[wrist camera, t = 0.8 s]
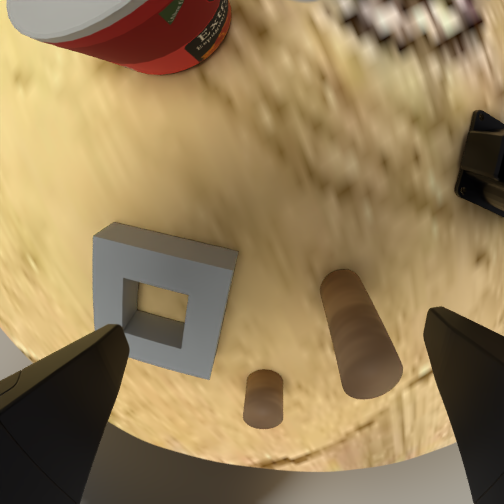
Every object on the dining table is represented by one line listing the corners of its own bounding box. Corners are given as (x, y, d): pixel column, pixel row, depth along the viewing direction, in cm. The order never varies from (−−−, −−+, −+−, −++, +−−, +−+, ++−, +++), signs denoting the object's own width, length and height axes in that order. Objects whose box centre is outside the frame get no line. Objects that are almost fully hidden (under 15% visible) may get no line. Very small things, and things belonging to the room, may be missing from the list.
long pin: (367, 274, 21) (413, 357, 13) (353, 310, 22) (385, 401, 14) (328, 265, 21) (357, 349, 13) (314, 302, 22) (332, 396, 14)
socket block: (238, 251, 21) (233, 270, 18) (215, 354, 24) (209, 379, 22) (113, 222, 21) (93, 235, 18) (111, 325, 24) (96, 346, 21)
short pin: (287, 373, 25) (288, 409, 21) (277, 396, 26) (276, 431, 22) (251, 366, 25) (247, 402, 21) (243, 390, 26) (239, 425, 22)
